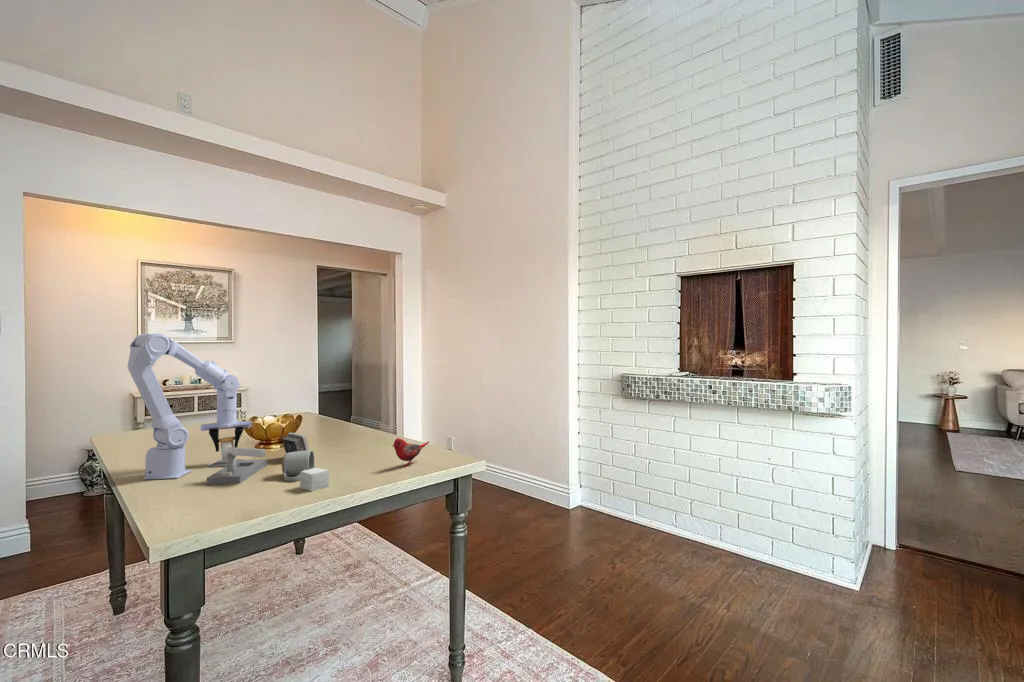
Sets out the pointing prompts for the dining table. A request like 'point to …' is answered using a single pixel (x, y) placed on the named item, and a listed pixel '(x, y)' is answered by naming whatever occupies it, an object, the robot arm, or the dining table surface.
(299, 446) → the electrical switch
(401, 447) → the decorative bird figurine
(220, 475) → the grey panel with tab
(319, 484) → the small box
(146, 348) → the robot arm
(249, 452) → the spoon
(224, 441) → the mushroom
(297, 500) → the dining table surface
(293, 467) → the ceramic mug
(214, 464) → the rubber mat
